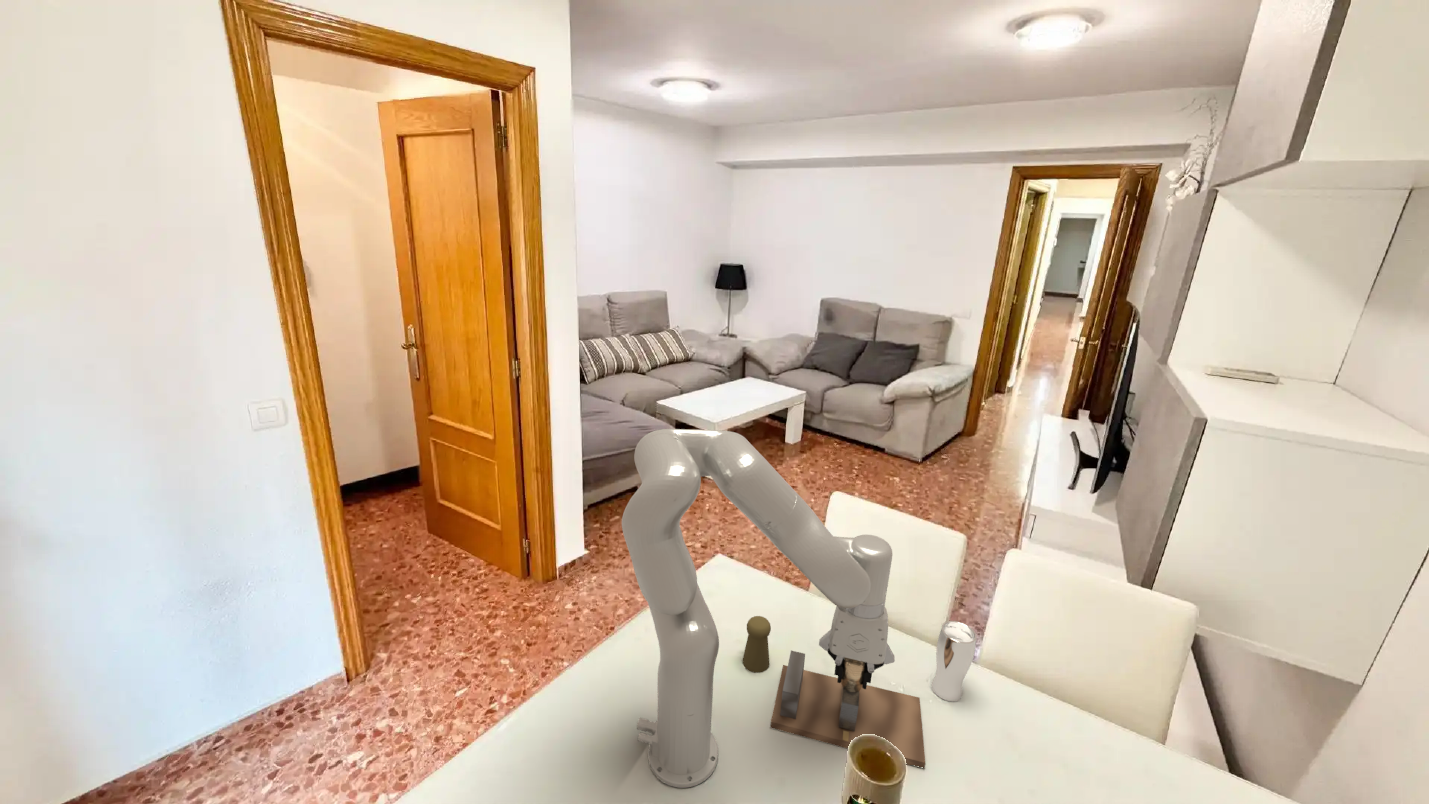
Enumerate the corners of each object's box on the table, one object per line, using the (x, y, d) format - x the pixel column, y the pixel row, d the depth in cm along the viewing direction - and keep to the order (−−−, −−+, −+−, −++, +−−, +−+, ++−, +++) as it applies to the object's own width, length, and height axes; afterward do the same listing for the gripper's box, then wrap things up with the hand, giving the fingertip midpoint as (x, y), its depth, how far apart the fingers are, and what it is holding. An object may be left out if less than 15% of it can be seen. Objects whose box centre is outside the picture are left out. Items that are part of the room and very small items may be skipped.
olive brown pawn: (768, 675, 118) (771, 633, 115) (740, 670, 119) (743, 628, 116) (771, 655, 124) (774, 614, 120) (744, 650, 125) (747, 609, 121)
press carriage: (835, 726, 104) (842, 675, 101) (839, 686, 113) (845, 638, 110) (857, 732, 103) (865, 681, 100) (859, 691, 112) (866, 643, 109)
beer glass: (964, 684, 118) (977, 626, 113) (964, 708, 112) (977, 648, 107) (930, 673, 120) (941, 615, 116) (927, 696, 114) (939, 636, 110)
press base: (770, 727, 106) (773, 696, 103) (782, 670, 119) (785, 642, 117) (924, 769, 99) (930, 737, 96) (918, 703, 112) (924, 674, 110)
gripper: (815, 604, 99) (806, 684, 105) (912, 624, 95) (897, 707, 101) (819, 580, 106) (810, 656, 112) (910, 598, 102) (896, 676, 108)
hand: (851, 679), depth 106 cm, fingers closed on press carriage, 4 cm apart
